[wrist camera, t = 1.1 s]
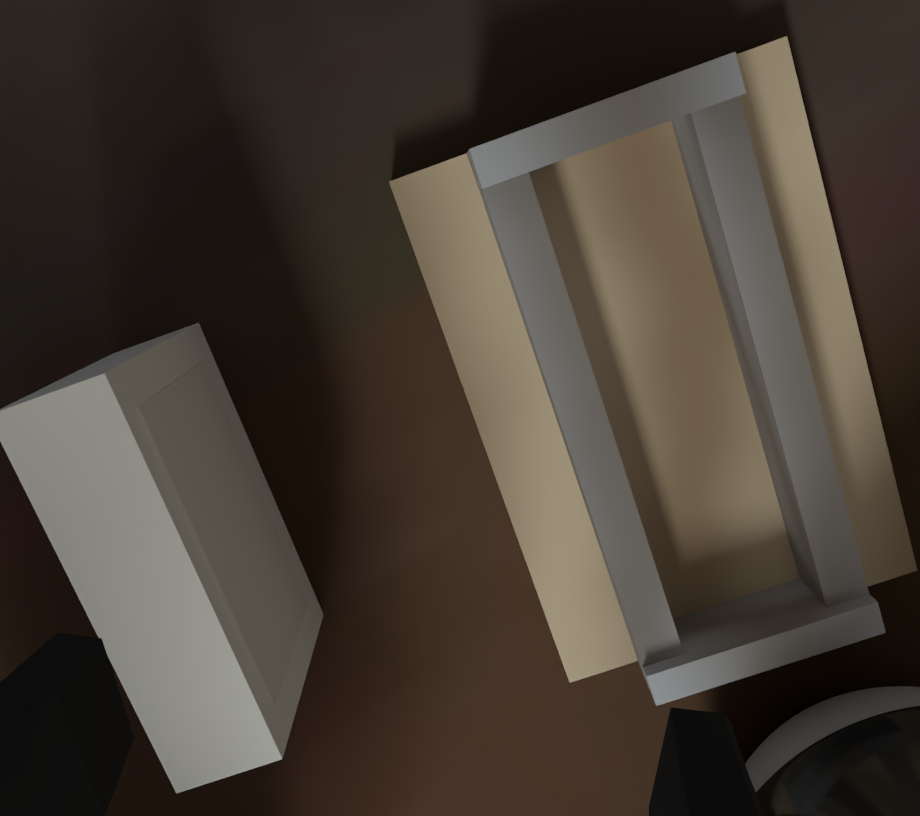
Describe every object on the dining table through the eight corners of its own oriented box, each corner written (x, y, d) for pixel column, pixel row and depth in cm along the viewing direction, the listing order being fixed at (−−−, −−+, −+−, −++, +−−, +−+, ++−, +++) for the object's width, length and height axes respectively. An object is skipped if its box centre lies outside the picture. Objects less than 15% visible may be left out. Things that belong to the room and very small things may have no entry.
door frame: (565, 666, 23) (581, 729, 20) (390, 181, 20) (382, 180, 17) (901, 557, 22) (963, 607, 20) (773, 42, 20) (826, 18, 17)
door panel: (243, 640, 23) (173, 794, 17) (112, 353, 21) (-16, 416, 15) (325, 612, 23) (285, 758, 17) (201, 321, 21) (107, 372, 15)
